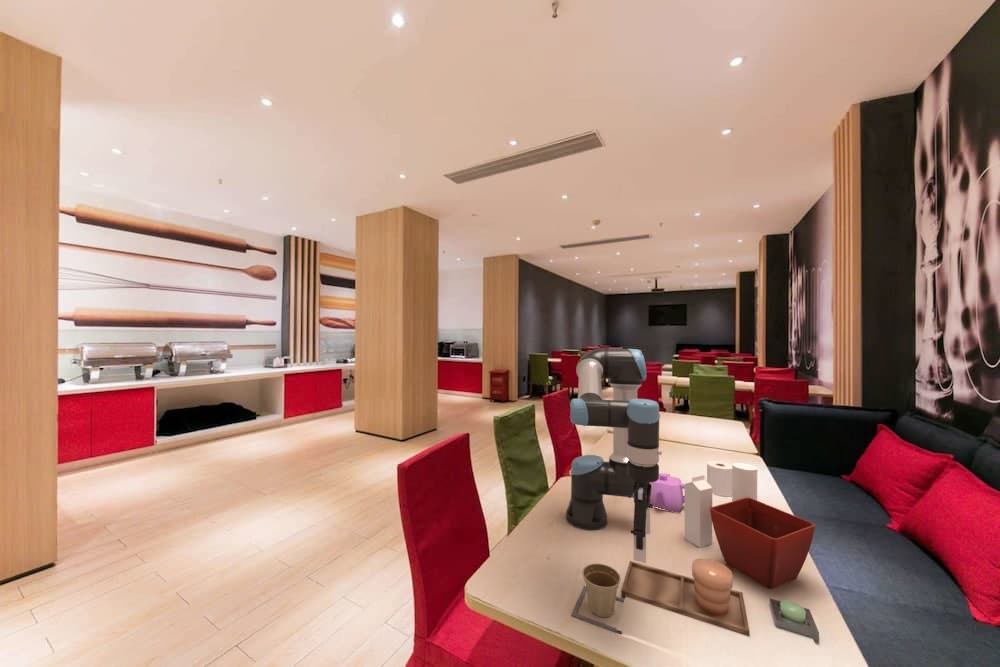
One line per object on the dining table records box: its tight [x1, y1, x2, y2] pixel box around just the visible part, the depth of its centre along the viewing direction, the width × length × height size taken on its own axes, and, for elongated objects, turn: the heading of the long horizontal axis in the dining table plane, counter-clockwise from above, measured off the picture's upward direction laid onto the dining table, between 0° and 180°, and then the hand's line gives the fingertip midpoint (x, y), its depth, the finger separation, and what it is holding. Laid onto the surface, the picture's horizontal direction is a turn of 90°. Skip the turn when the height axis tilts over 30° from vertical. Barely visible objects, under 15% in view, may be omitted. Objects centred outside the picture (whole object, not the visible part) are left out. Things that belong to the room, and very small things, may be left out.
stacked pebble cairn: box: [691, 558, 734, 615], centre depth 94 cm, size 9×9×9 cm
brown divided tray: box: [620, 560, 751, 637], centre depth 98 cm, size 28×15×2 cm, turn 62°
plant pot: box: [710, 498, 816, 590], centre depth 109 cm, size 19×19×17 cm
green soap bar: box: [779, 599, 807, 625], centre depth 89 cm, size 5×5×3 cm
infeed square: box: [570, 585, 626, 635], centre depth 94 cm, size 12×12×1 cm
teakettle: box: [650, 473, 686, 513], centre depth 152 cm, size 17×17×12 cm
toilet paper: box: [706, 460, 732, 497], centre depth 165 cm, size 10×10×12 cm
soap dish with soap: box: [769, 597, 820, 644], centre depth 89 cm, size 8×8×2 cm
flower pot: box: [581, 563, 622, 618], centre depth 94 cm, size 9×9×9 cm
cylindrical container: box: [731, 462, 758, 502], centre depth 126 cm, size 7×7×25 cm
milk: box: [683, 474, 713, 548], centre depth 125 cm, size 6×6×22 cm
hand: (642, 546), depth 93 cm, fingers open, 13 cm apart
